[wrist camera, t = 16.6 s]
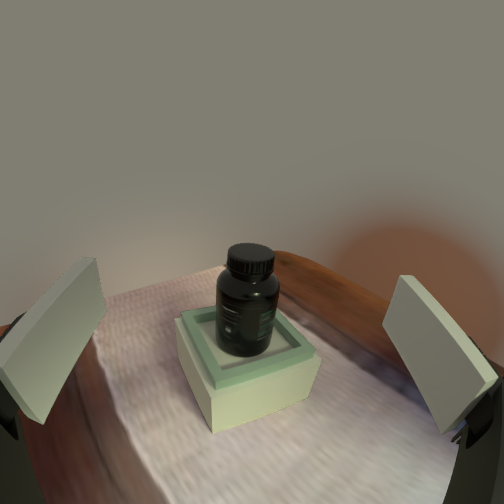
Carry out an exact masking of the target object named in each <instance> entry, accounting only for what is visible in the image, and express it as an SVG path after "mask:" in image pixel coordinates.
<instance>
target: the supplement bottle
mask: <svg viewBox="0 0 504 504" xmlns="http://www.w3.org/2000/svg"><path fill="white" fill-rule="evenodd" d="M274 259H275V254H274V252H273V250H271V249H270V248H269V247H266V246H263V245H259V244H254V243H240V244H236V245H233V246H231V247H230V248H229V249H228V257H227V263H226V267H227V268H226V269H225V270H223V271H222V272H221V274H220V275H219V277H218V279H217V285H216V321H215V337H216V342H217V344H218V346H219V347H220V348H221V349H222V350H223V351H224V352H226V353H228V354H230V355H232V356H235V357H241V358H249V357H254V356H257V355H260V354H262V353H263V352H264V351H266V350H267V348H268V347H269V345H270V342H271V338H272V333H273V327H274V321H275V315H276V310H277V304H278V298H279V291H280V284H279V281H278V279H277V277H276V276H275V274H274V273H273V271H274Z"/></svg>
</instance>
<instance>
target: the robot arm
mask: <svg viewBox="0 0 504 504" xmlns="http://www.w3.org/2000/svg"><path fill="white" fill-rule="evenodd" d="M106 312H107V310H106V306H105V302H104V297H103V293H102V288H101V283H100V278H99V273H98V268H97V262H96V258H89V257H81V258H80V259H79V260H78V261H77V262H76V263H74V264H73V265H72V266H71V267H70V268H69V269H68V270H67V271H66V272H65V273H64V274H63V275H62V276H61V277H60V278H59V279H58V280H57V281H56V282H55V283H54V284H53V285H52V286H51V287H50V288H49V289H48V290H47V291H46V292H45V293H44V294H43V295H42V296H41V297H40V298H39V299H38V300H37V301H36V302H35V303H34V304H33V306H32V307H31V308H30V309H29V310H28V311H27V312H25V313H23V314H22V315H20V316H19V317H17V318H16V319H15V320H14V321H13V322H12V324H11V325H10V326H9V329H6V331H5V332H4V333H3V336H1V337H0V504H46V502H45V500H44V498H43V495H42V493H41V490H40V487H39V485H38V482H37V479H36V476H35V473H34V470H33V467H32V464H31V461H30V457H29V454H28V450H27V446H26V442H25V438H24V434H23V429H22V424H21V420H20V417H19V415H18V413H17V411H18V409H19V407H20V408H21V410H22V411H23V412H24V413H25V415H26V416H27V417H28V418H30V419H32V420H34V421H36V422H38V423H40V424H43V425H44V422H45V420H46V418H47V416H48V414H49V412H50V410H51V408H52V406H53V404H54V402H55V400H56V398H57V396H58V394H59V392H60V390H61V388H62V386H63V384H64V383H65V381H66V379H67V377H68V375H69V373H70V372H71V370H72V368H73V366H74V364H75V363H76V361H77V359H78V357H79V356H80V354H81V352H82V351H83V349H84V347H85V346H86V344H87V342H88V341H89V339H90V337H91V336H92V334H93V332H94V331H95V329H96V328H97V326H98V324H99V323H100V321H101V320H102V318H103V317H104V315H105V313H106ZM382 326H383V327H384V329H385V330H386V332H387V334H388V335H389V337H390V339H391V341H392V342H393V344H394V346H395V347H396V349H397V351H398V353H399V354H400V356H401V358H402V360H403V361H404V363H405V365H406V367H407V368H408V370H409V372H410V374H411V376H412V378H413V379H414V381H415V383H416V385H417V387H418V389H419V391H420V393H421V394H422V396H423V398H424V400H425V402H426V404H427V406H428V408H429V410H430V412H431V414H432V416H433V418H434V420H435V422H436V424H437V426H438V429H439V431H440V433H441V434H444V433H446V432H448V431H451V430H453V429H455V428H456V427H457V426H458V425H459V424H460V423H461V422H462V421H463V420H464V419H465V420H466V422H467V424H466V425H465V426H464V427H463V428H462V429H461V430H460V431H459V432H458V433H457V434H456V435H455V436H454V437H453V439H452V441H451V442H454V441H455V440H456V439H457V438H458V437H459V436H461V438H460V439H459V440H458V441H457V443H456V444H459V450H458V454H457V458H456V462H455V466H454V470H453V473H452V477H451V480H450V483H449V487H448V490H447V493H446V496H445V498H444V501H443V504H504V376H503V377H502V378H501V376H500V375H499V374H498V372H497V371H496V369H495V368H494V367H493V365H492V364H491V363H490V361H489V360H488V359H487V357H486V356H485V355H483V352H482V351H481V350H480V348H478V346H477V345H476V343H475V342H474V341H473V340H472V339H471V337H469V336H468V335H467V334H465V333H464V332H463V331H462V329H461V328H460V327H459V326H458V325H457V323H456V322H455V321H454V320H453V319H452V318H451V317H450V315H449V314H448V313H447V312H446V311H445V310H444V309H443V307H442V306H441V305H440V304H439V303H438V302H437V301H436V300H435V299H434V297H433V296H432V295H431V294H430V293H429V292H428V291H427V290H426V289H425V288H424V287H423V286H422V285H421V284H420V283H419V282H418V281H417V280H416V278H415V277H414V276H412V275H400V276H399V279H398V282H397V285H396V288H395V291H394V294H393V297H392V300H391V302H390V305H389V308H388V310H387V313H386V316H385V318H384V321H383V323H382Z"/></svg>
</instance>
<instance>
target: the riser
mask: <svg viewBox="0 0 504 504" xmlns="http://www.w3.org/2000/svg"><path fill="white" fill-rule="evenodd" d="M174 320H175V331H176V341H177V350H178V359H179V361H180V364H181V366H182V369H183V371H184V374H185V376H186V378H187V381H188V383H189V385H190V387H191V390H192V392H193V394H194V396H195V399H196V401H197V403H198V405H199V407H200V409H201V411H202V413H203V416H204V418H205V420H206V422H207V424H208V426H209V428H210V430H211V432H212V434H213V433H216V432H219V431H223V430H226V429H229V428H232V427H235V426H238V425H241V424H244V423H247V422H250V421H252V420H255V419H258V418H260V417H263V416H266V415H268V414H271V413H273V412H276V411H278V410H281V409H283V408H286V407H288V406H290V405H293V404H295V403H297V402H299V401H302V400H304V399H306V398H308V395H309V393H310V390H311V388H312V385H313V382H314V380H315V377H316V374H317V372H318V369H319V366H320V364H321V361H322V359H321V358H320V357H319V356H318V355H317V354H316V353H315V350H316V348H315V347H314V346H313V345H312V344H311V343H310V342H309V341H308V340H307V339H306V338H305V337H304V336H303V335H302V334H301V333H300V332H299V331H298V330H297V329H296V328H295V327H294V326H293V325H292V324H291V323H290V322H289V321H288V320H287V319H286V318H285V317H284V316H283V315H282V314H281V313H280V312H279V311H278V310H276V315H275V321H274V327H273V333H272V338H271V342H270V345H269V347H268V348H267V350H266V351H264V352H263V353H262V354H260V355H257V356H254V357H249V358H241V357H235V356H232V355H230V354H228V353H226V352H224V351H223V350H222V349H221V348H220V347H219V346H218V344H217V342H216V337H215V321H216V306H211V307H205V308H200V309H195V310H189V311H183V312H181V317H179V318H174Z"/></svg>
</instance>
